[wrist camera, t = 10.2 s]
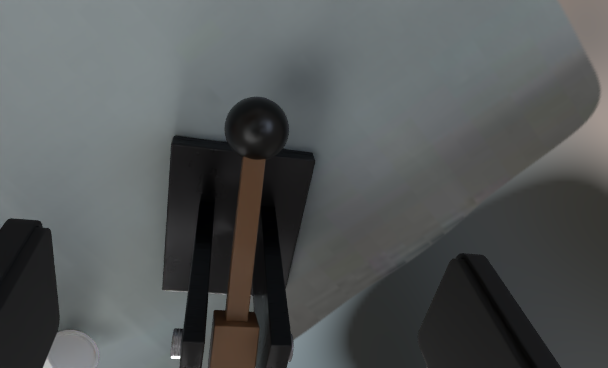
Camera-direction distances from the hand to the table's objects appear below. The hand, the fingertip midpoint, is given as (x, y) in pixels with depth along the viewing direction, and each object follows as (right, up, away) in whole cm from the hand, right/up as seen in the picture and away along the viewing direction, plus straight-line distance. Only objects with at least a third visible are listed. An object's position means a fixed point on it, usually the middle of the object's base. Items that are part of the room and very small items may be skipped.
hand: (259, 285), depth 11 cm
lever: (-2, 0, +14) cm, 14 cm away
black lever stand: (-4, 0, +22) cm, 22 cm away
